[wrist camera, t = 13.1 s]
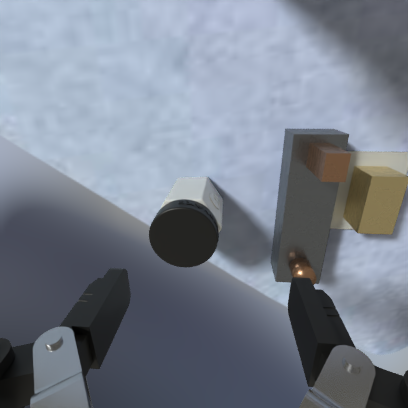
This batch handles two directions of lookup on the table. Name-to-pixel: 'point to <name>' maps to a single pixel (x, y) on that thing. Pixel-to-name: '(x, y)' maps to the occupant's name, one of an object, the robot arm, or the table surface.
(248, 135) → the table surface
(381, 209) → the lever cap
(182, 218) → the jar
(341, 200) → the felt mat
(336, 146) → the body
